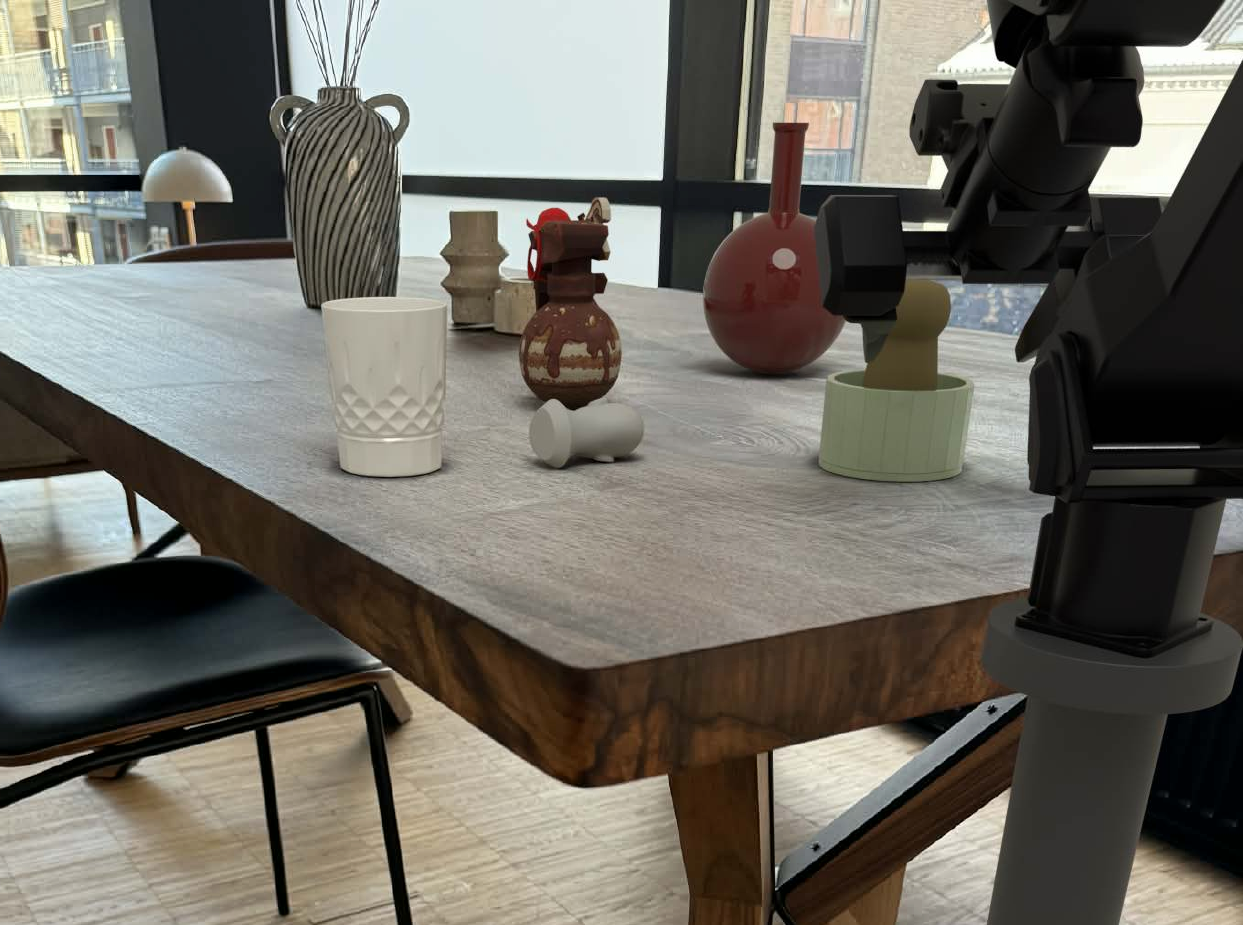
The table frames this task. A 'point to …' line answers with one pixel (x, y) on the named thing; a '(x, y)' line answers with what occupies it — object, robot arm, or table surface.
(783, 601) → the table surface
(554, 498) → the table surface
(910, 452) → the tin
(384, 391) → the white cup
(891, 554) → the table surface
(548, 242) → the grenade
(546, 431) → the pale two-lobed sculpture
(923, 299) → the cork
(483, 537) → the table surface
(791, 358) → the round-bottom flask
